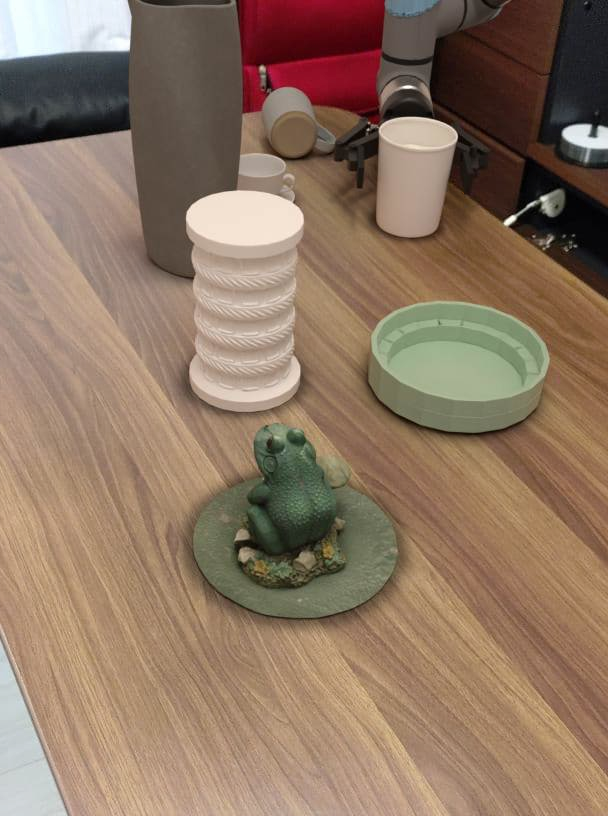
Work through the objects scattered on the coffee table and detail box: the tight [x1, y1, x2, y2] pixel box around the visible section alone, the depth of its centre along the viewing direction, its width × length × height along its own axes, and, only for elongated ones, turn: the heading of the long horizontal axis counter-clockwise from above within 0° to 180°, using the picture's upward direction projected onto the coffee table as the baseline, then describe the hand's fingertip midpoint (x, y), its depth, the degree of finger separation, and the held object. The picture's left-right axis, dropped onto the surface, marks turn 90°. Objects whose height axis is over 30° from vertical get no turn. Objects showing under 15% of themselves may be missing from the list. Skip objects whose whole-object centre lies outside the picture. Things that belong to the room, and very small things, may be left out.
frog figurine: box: [192, 422, 399, 619], centre depth 81 cm, size 18×18×12 cm
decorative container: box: [186, 190, 305, 413], centre depth 96 cm, size 12×12×18 cm
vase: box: [127, 0, 244, 279], centre depth 109 cm, size 12×12×30 cm
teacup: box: [237, 152, 296, 203], centre depth 130 cm, size 10×10×5 cm
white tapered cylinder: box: [375, 117, 458, 239], centre depth 125 cm, size 10×10×12 cm
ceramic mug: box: [260, 86, 337, 159], centre depth 141 cm, size 11×8×8 cm
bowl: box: [367, 300, 551, 434], centre depth 102 cm, size 18×18×4 cm
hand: (414, 181), depth 122 cm, fingers open, 13 cm apart
